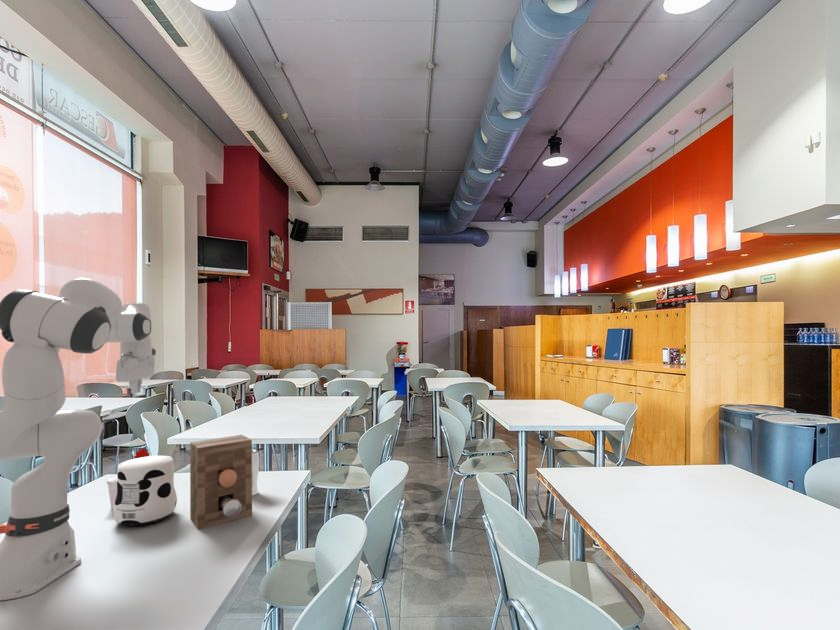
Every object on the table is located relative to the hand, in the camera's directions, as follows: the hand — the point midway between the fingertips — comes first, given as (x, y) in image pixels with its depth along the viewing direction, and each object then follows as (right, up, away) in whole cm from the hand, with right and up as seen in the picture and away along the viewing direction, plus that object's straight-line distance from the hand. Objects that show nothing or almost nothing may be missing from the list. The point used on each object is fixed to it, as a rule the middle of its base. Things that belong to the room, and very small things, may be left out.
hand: (135, 393), depth 154 cm
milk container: (+8, -39, -7) cm, 40 cm away
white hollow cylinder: (+33, -39, +14) cm, 53 cm away
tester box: (+32, -38, -7) cm, 50 cm away
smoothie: (-8, -40, +3) cm, 41 cm away
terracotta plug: (+34, -27, -9) cm, 44 cm away
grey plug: (+36, -35, -13) cm, 52 cm away
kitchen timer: (-11, -41, +22) cm, 47 cm away
